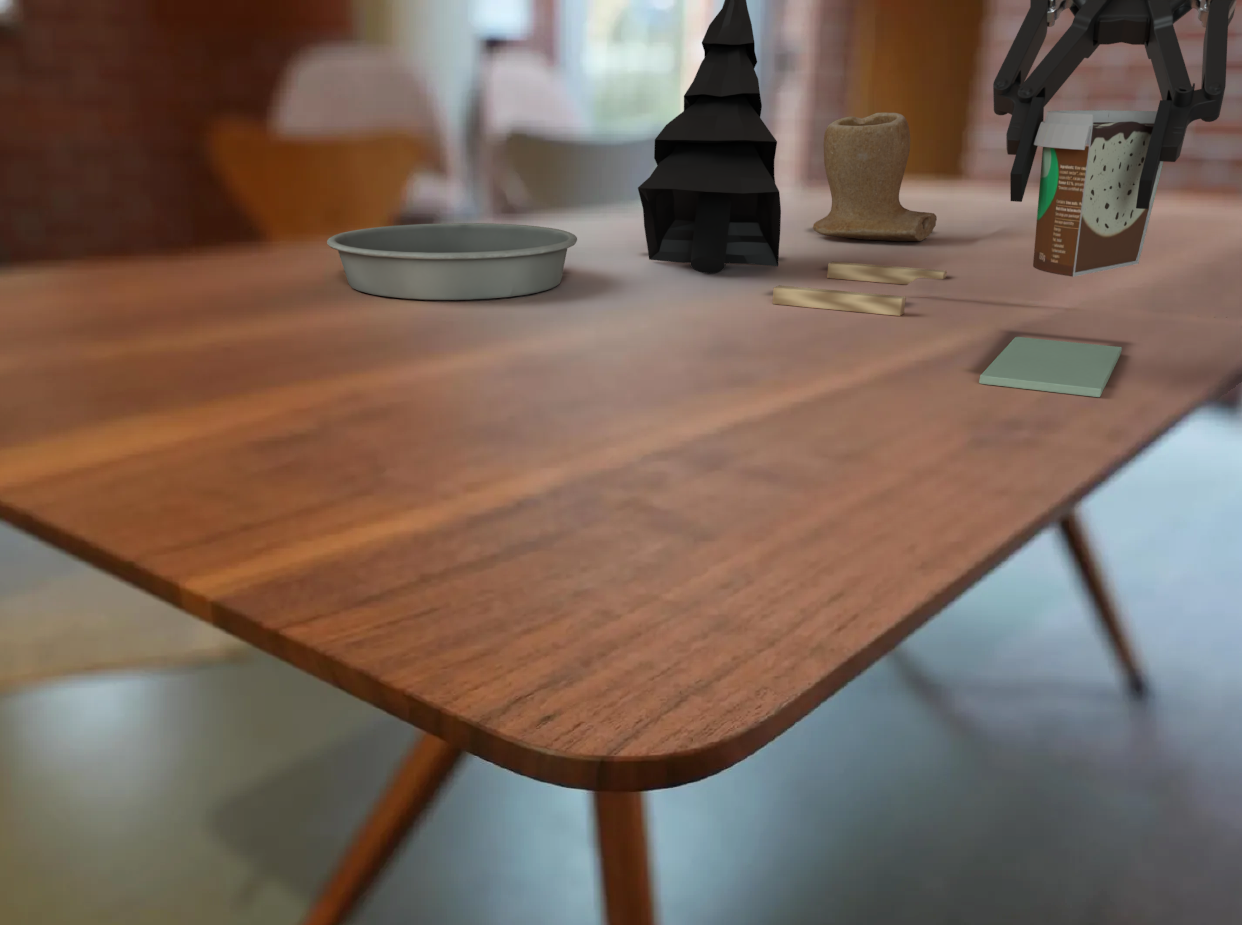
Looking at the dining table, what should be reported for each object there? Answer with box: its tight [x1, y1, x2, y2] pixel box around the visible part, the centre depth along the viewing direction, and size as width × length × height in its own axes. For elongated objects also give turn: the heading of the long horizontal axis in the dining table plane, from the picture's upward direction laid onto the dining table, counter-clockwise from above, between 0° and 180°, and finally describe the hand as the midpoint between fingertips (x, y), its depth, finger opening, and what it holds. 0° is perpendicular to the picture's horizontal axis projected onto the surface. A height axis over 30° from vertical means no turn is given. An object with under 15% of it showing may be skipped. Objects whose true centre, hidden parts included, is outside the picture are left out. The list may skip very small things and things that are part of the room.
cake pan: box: [326, 222, 578, 301], centre depth 117 cm, size 25×25×4 cm
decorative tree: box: [637, 0, 782, 274], centre depth 126 cm, size 15×15×35 cm
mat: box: [978, 336, 1123, 398], centre depth 86 cm, size 8×15×1 cm, turn 153°
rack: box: [772, 261, 948, 317], centre depth 114 cm, size 12×19×2 cm, turn 153°
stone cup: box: [812, 112, 938, 242], centre depth 147 cm, size 15×12×15 cm
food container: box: [1032, 109, 1164, 278], centre depth 81 cm, size 12×6×10 cm, turn 132°
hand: (1078, 190), depth 78 cm, fingers closed on food container, 7 cm apart
